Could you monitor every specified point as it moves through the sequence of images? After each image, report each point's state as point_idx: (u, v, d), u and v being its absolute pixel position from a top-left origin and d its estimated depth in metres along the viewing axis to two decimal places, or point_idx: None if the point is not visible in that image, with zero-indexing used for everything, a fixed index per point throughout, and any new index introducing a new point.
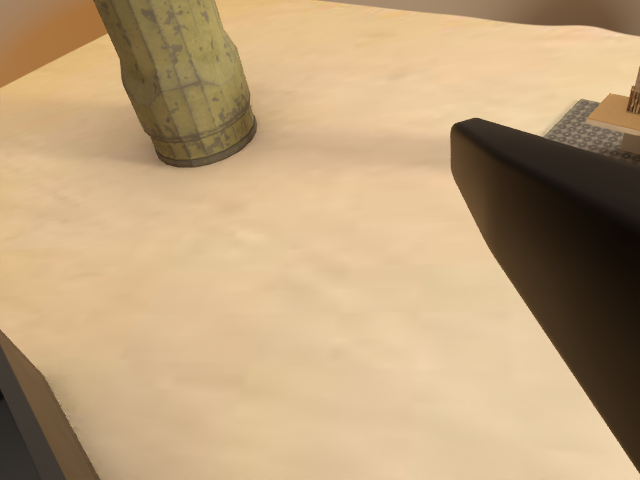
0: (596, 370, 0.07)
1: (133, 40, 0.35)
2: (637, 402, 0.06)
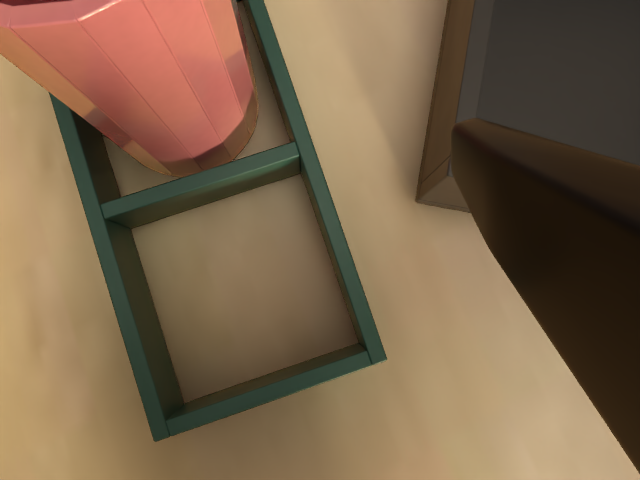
0: (595, 370, 0.07)
1: None
2: (637, 402, 0.06)
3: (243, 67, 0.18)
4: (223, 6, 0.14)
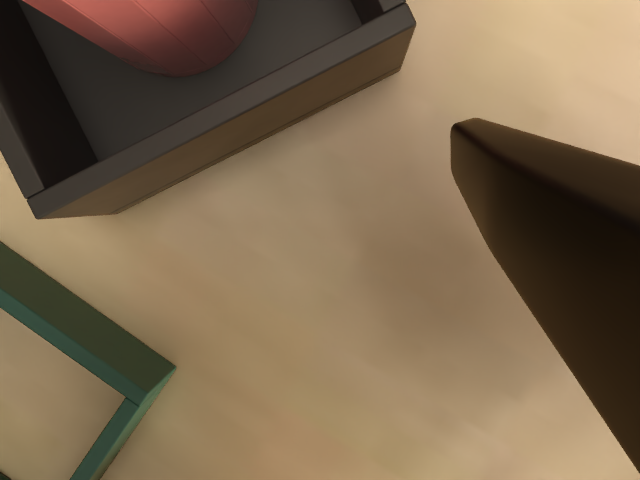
0: (596, 371, 0.07)
1: None
2: (637, 402, 0.06)
3: None
4: None
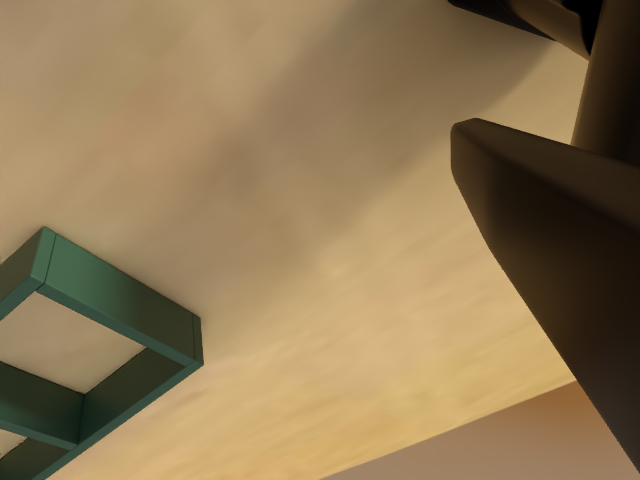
0: (595, 370, 0.07)
1: None
2: (637, 402, 0.06)
3: None
4: None
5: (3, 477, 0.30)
